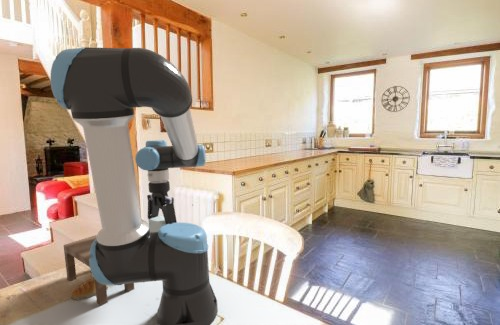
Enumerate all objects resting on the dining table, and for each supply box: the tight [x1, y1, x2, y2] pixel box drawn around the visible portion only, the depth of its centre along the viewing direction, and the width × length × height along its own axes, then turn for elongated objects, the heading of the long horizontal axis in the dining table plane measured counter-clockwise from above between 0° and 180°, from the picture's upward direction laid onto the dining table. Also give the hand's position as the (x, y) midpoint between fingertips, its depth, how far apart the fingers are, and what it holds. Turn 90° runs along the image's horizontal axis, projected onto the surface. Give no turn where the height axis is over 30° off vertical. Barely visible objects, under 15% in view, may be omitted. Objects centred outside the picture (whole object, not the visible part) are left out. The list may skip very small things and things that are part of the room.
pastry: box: [70, 277, 109, 300], centre depth 82 cm, size 9×7×4 cm
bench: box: [63, 234, 135, 307], centre depth 85 cm, size 24×10×12 cm, turn 52°
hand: (163, 239), depth 104 cm, fingers closed on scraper, 8 cm apart
